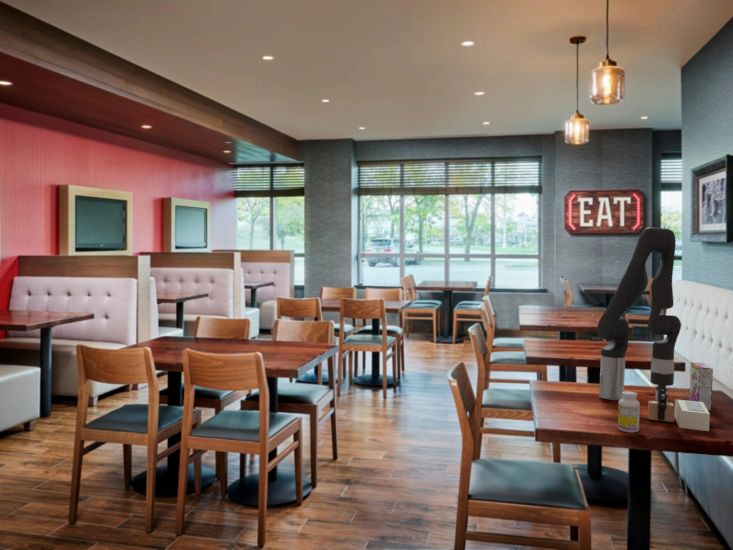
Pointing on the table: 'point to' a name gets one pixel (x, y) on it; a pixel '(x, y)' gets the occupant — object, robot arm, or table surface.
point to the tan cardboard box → (654, 411)
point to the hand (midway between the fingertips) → (660, 417)
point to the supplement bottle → (628, 412)
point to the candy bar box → (701, 383)
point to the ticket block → (692, 415)
